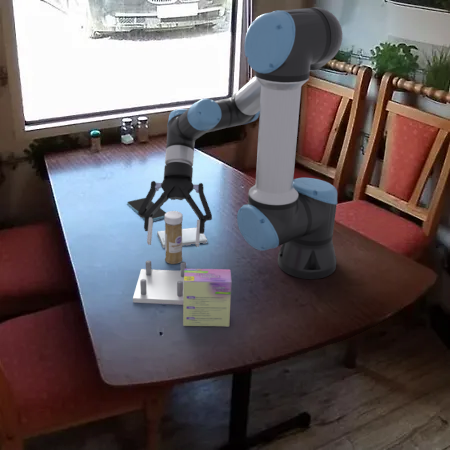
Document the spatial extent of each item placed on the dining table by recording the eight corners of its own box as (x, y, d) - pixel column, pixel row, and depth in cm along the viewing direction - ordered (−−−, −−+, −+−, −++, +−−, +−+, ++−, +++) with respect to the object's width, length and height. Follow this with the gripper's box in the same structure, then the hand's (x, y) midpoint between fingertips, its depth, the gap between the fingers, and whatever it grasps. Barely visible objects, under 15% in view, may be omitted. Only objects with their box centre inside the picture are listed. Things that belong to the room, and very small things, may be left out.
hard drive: (162, 244, 173) (207, 239, 176) (156, 230, 180) (199, 225, 183) (162, 250, 174) (207, 244, 177) (157, 236, 181) (199, 231, 184)
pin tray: (192, 275, 162) (193, 259, 160) (188, 304, 150) (188, 287, 148) (141, 273, 162) (140, 257, 160) (133, 302, 150) (132, 285, 148)
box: (228, 312, 148) (230, 268, 143) (229, 327, 143) (231, 282, 138) (183, 311, 148) (183, 267, 142) (182, 326, 143) (183, 281, 137)
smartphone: (147, 197, 201) (169, 214, 190) (147, 200, 201) (169, 218, 190) (125, 201, 197) (147, 220, 186) (125, 205, 198) (147, 223, 187)
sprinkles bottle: (176, 266, 165) (176, 219, 159) (161, 261, 167) (160, 215, 161) (185, 258, 169) (186, 213, 163) (171, 254, 171) (171, 208, 165)
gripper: (224, 173, 175) (220, 250, 168) (135, 169, 175) (128, 246, 168) (223, 162, 167) (219, 242, 161) (131, 158, 168) (124, 238, 161)
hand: (173, 244), depth 165 cm, fingers open, 12 cm apart
